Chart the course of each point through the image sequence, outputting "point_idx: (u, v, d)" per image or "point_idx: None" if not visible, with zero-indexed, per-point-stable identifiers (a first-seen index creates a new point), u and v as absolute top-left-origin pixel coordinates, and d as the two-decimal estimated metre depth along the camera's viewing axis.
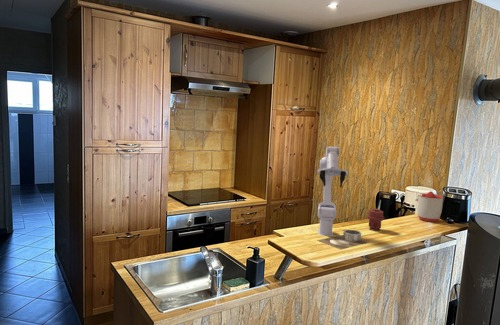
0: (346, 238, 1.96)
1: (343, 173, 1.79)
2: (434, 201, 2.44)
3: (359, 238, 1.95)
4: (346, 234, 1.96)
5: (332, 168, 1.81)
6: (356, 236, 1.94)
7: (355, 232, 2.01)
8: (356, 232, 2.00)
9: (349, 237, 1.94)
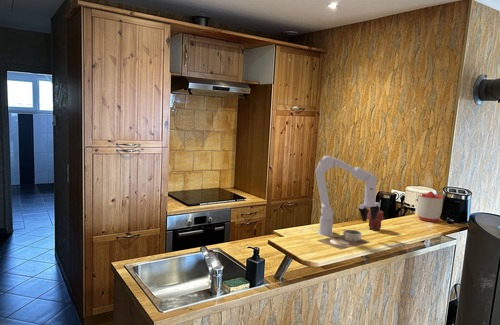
0: (346, 238, 1.96)
1: (378, 209, 2.04)
2: (434, 201, 2.44)
3: (359, 238, 1.95)
4: (346, 234, 1.96)
5: (373, 206, 2.00)
6: (356, 236, 1.94)
7: (355, 232, 2.01)
8: (356, 232, 2.00)
9: (349, 237, 1.94)
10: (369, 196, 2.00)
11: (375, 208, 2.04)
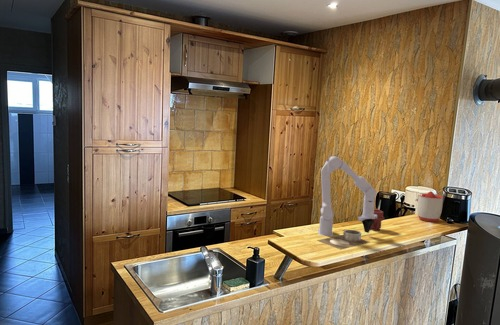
0: (346, 238, 1.96)
1: (372, 222, 2.04)
2: (434, 201, 2.44)
3: (359, 238, 1.95)
4: (346, 234, 1.96)
5: None
6: (356, 236, 1.94)
7: (355, 232, 2.01)
8: (356, 232, 2.00)
9: (349, 237, 1.94)
10: (368, 208, 2.01)
11: None
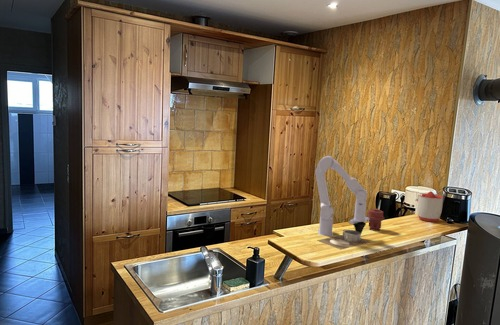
0: (345, 238, 1.95)
1: (364, 225, 2.00)
2: (434, 201, 2.44)
3: (358, 238, 1.94)
4: (345, 234, 1.95)
5: (363, 221, 1.98)
6: (355, 236, 1.93)
7: (354, 232, 2.00)
8: (355, 232, 2.00)
9: (348, 237, 1.94)
10: (359, 211, 1.97)
11: None
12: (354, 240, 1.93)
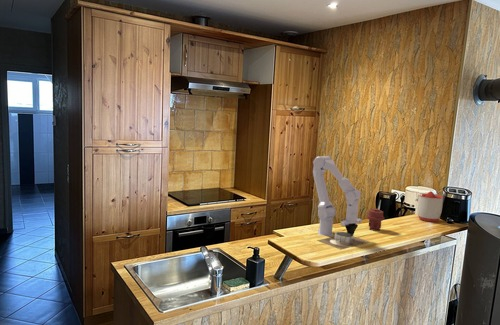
0: (338, 240, 1.91)
1: (356, 227, 1.95)
2: (434, 201, 2.44)
3: (351, 240, 1.90)
4: (338, 236, 1.91)
5: (355, 223, 1.94)
6: (348, 238, 1.89)
7: (346, 234, 1.96)
8: (347, 234, 1.96)
9: (341, 239, 1.89)
10: (351, 213, 1.93)
11: None
12: (346, 242, 1.89)
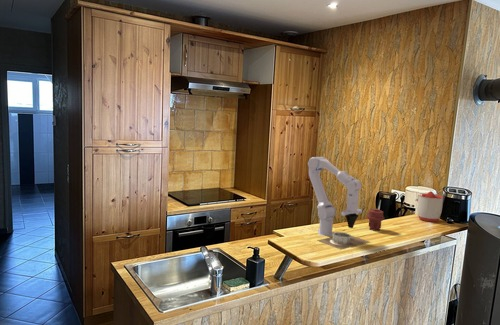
0: (335, 241, 1.90)
1: (356, 217, 1.95)
2: (434, 201, 2.44)
3: (349, 241, 1.89)
4: (335, 237, 1.90)
5: (355, 213, 1.93)
6: (346, 239, 1.88)
7: (344, 234, 1.95)
8: (345, 234, 1.95)
9: (338, 240, 1.89)
10: (351, 203, 1.93)
11: None
12: (344, 243, 1.88)
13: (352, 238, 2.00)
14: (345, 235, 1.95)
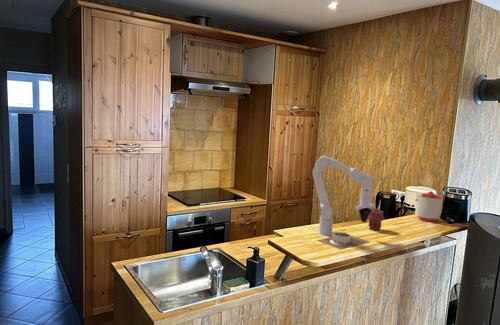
0: (335, 241, 1.90)
1: (370, 211, 2.00)
2: (434, 201, 2.44)
3: (349, 241, 1.89)
4: (335, 237, 1.90)
5: (369, 207, 1.98)
6: (346, 239, 1.88)
7: (344, 234, 1.95)
8: (345, 234, 1.95)
9: (338, 240, 1.89)
10: (365, 197, 1.98)
11: None
12: (344, 243, 1.88)
13: (352, 238, 2.00)
14: (345, 235, 1.95)
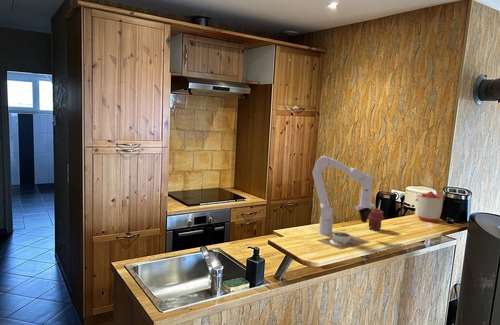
0: (335, 241, 1.90)
1: (370, 211, 2.00)
2: (434, 201, 2.44)
3: (349, 241, 1.89)
4: (335, 237, 1.90)
5: (369, 207, 1.98)
6: (346, 239, 1.88)
7: (344, 234, 1.95)
8: (345, 234, 1.95)
9: (338, 240, 1.89)
10: (365, 197, 1.98)
11: None
12: (344, 243, 1.88)
13: (352, 238, 2.00)
14: (345, 235, 1.95)
